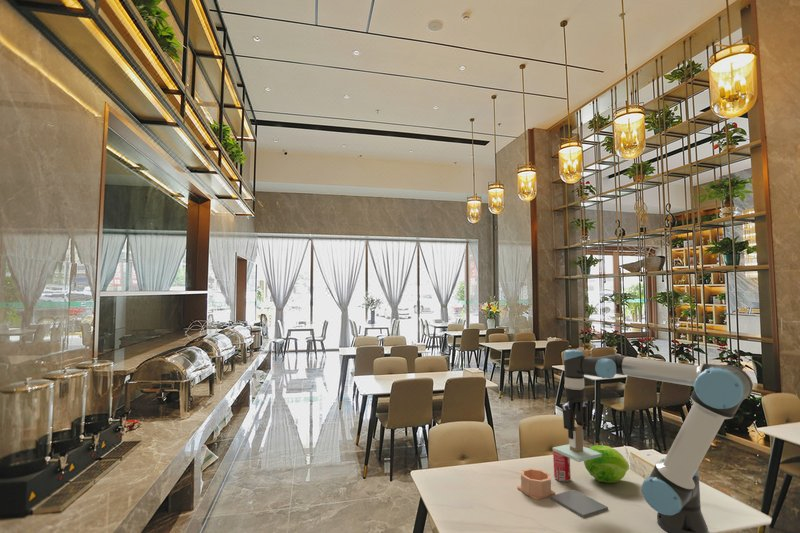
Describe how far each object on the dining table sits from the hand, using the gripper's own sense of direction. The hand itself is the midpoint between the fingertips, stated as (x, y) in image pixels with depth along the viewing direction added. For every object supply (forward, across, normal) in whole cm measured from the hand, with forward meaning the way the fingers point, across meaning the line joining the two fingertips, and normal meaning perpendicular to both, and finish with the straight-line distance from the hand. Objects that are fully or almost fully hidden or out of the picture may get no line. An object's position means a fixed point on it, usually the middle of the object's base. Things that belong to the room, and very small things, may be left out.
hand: (576, 445), depth 161 cm
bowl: (+23, +8, -15) cm, 28 cm away
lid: (+3, 0, 0) cm, 3 cm away
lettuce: (+23, -30, -9) cm, 39 cm away
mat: (+23, 0, 0) cm, 23 cm away
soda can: (+23, -12, -19) cm, 32 cm away
